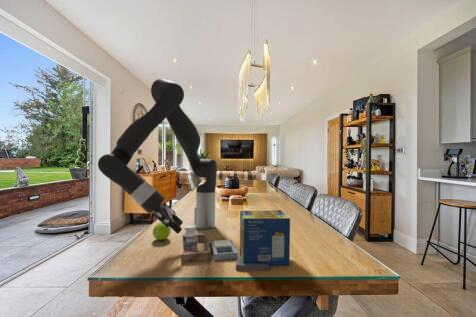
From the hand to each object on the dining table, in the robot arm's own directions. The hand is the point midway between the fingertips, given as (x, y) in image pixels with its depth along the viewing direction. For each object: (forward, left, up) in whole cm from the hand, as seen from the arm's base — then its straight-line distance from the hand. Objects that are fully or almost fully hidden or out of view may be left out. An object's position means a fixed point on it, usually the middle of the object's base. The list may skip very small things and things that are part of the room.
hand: (180, 227), depth 85 cm
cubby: (+4, +3, -8) cm, 10 cm away
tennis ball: (-14, +6, -9) cm, 18 cm away
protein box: (+30, +6, -9) cm, 31 cm away
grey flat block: (+28, -1, -8) cm, 29 cm away
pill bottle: (+3, +2, -9) cm, 9 cm away
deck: (+15, +6, -8) cm, 18 cm away
